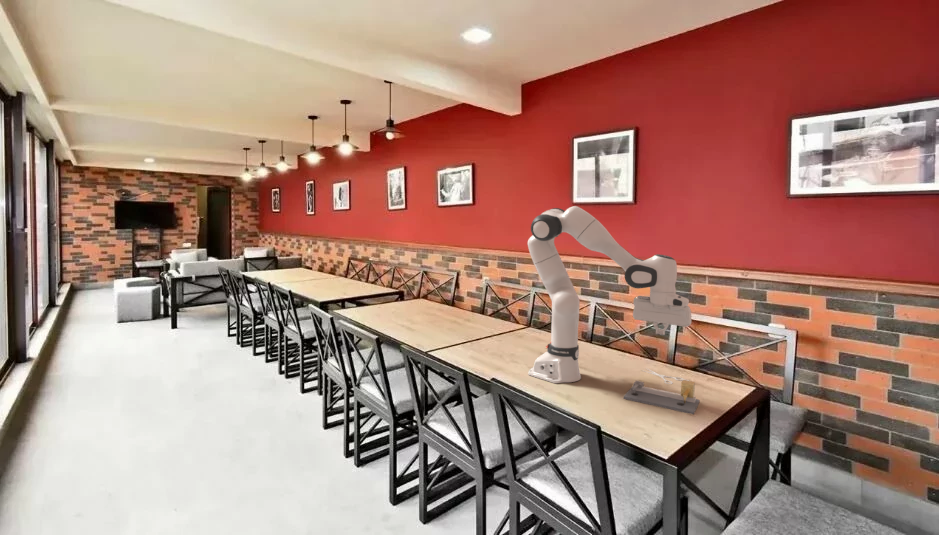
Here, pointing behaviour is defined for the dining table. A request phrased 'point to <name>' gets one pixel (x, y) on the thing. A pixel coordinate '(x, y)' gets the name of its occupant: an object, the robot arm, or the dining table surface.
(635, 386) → the plate
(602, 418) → the dining table surface
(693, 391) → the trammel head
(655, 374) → the scissors
